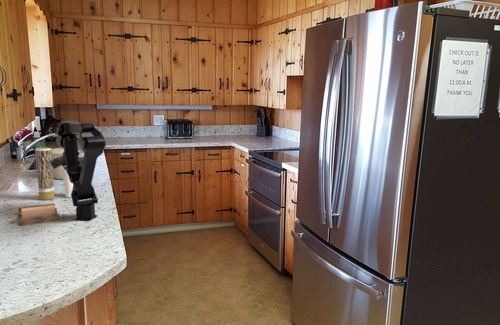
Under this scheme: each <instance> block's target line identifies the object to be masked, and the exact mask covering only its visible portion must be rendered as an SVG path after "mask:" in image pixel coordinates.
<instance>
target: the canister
mask: <svg viewBox="0 0 500 325" xmlns="http://www.w3.org/2000/svg"><path fill="white" fill-rule="evenodd" d="M63 152H64V148H62V147H60V146H59V147H55V148H51V155H52V159H55V158H57V157H60V156H63ZM78 152H79V153H80V152H81V151H80V149H78ZM62 167H63V166H62V165H61V166H59V167H57V168H55V169H53V179H54V180H55V179H56V180H63V177H62ZM64 167H65V166H64ZM52 168H53V167H52Z"/></svg>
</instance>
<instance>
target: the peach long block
mask: <svg viewBox="0 0 500 325" xmlns="http://www.w3.org/2000/svg"><path fill="white" fill-rule="evenodd" d="M55 206H56V205H55ZM55 206H54V205H47V206H39V207H31V208H23V209H21V212H22V219H23V218H30V217H37V216H44V215H52V214H55V208H56V207H55Z"/></svg>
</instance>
